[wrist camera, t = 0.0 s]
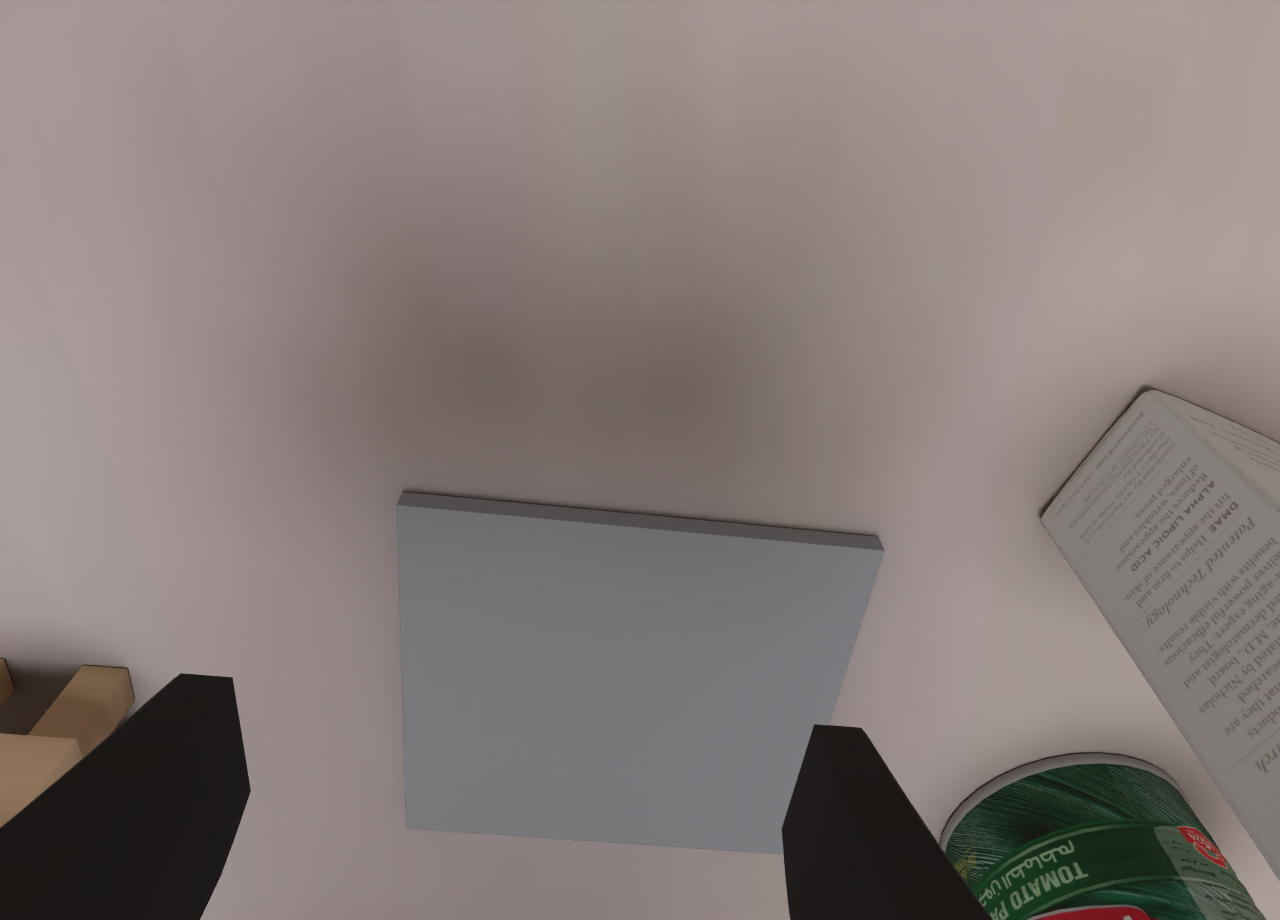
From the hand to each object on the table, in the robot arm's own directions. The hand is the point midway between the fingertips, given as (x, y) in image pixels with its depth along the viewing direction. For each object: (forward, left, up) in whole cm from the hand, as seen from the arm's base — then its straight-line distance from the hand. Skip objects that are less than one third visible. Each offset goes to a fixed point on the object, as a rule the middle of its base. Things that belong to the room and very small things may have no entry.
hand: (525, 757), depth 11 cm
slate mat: (-9, -2, -10) cm, 14 cm away
